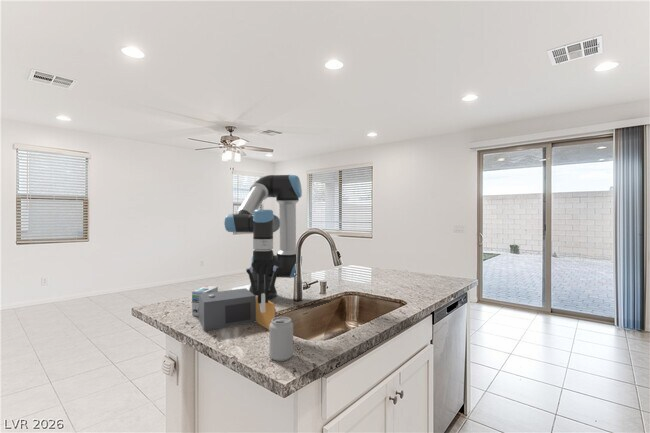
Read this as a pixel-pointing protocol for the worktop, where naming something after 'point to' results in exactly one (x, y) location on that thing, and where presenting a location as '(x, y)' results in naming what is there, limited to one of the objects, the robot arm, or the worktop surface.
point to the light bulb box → (196, 297)
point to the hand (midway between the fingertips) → (262, 311)
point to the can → (281, 338)
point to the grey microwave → (226, 308)
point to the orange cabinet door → (264, 313)
